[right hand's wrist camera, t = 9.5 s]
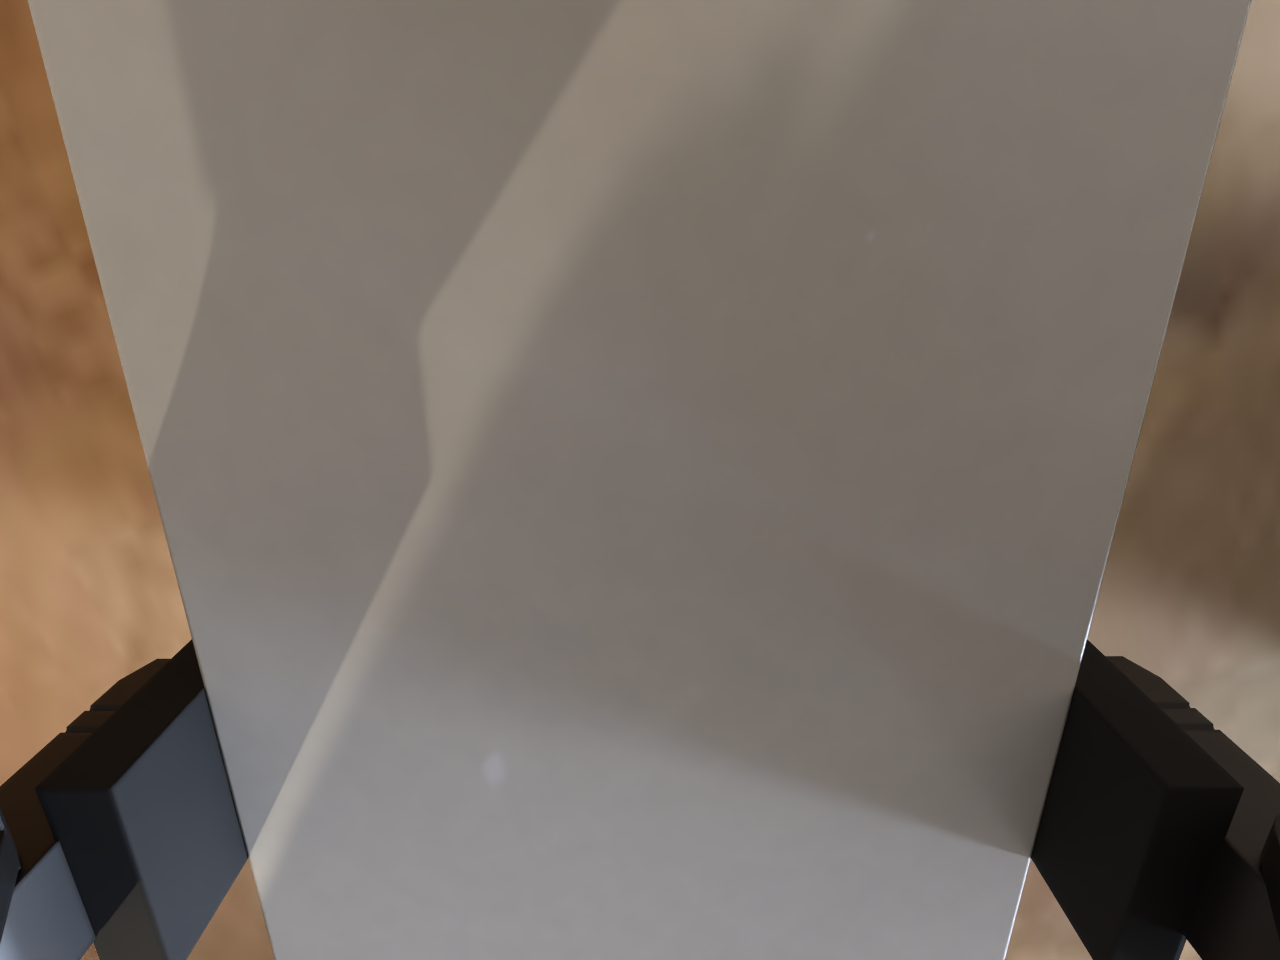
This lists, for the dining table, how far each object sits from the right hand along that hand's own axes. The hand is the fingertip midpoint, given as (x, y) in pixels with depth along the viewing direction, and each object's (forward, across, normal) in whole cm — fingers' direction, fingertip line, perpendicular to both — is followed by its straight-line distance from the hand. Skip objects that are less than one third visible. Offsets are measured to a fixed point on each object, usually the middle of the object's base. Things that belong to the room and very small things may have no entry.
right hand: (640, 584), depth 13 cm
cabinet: (+5, 0, -6) cm, 7 cm away
